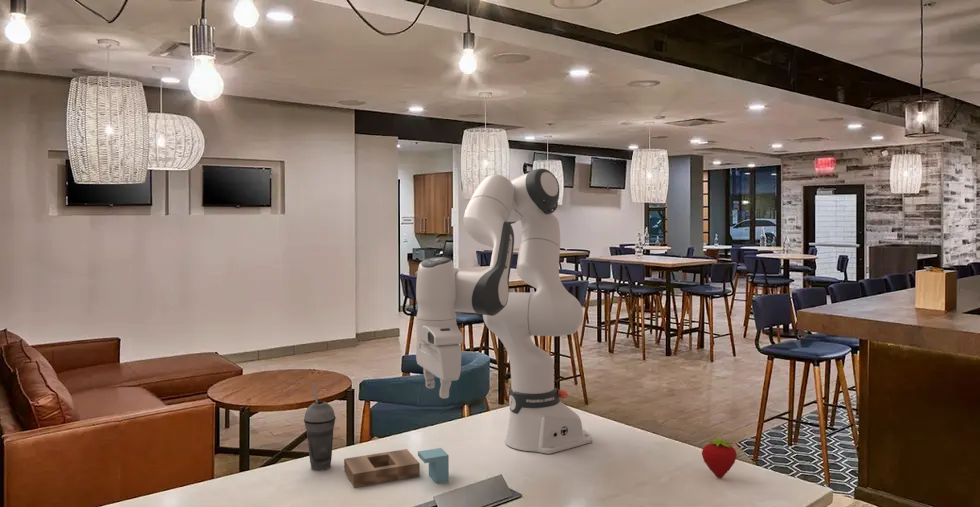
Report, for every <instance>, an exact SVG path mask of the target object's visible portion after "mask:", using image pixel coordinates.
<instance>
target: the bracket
mask: <svg viewBox="0 0 980 507" xmlns="http://www.w3.org/2000/svg"><path fill="white" fill-rule="evenodd" d="M417 456H418V457H419V459H420V460H421V461H422V462H423V463H424V464H428V477H429V478H430V479H431V480H432V482H434V484H442V483H443V484H444V483H447V482H449V481H450V475H449V474H450V472H449V469H450V468H449V466H450V465H449V464H450V463H449V454H448V453H447V452H446V451H445V450H444V449H443V448H442V447H438V448H431V449H426V450H425V449H424V450H418V451H417Z"/></svg>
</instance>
